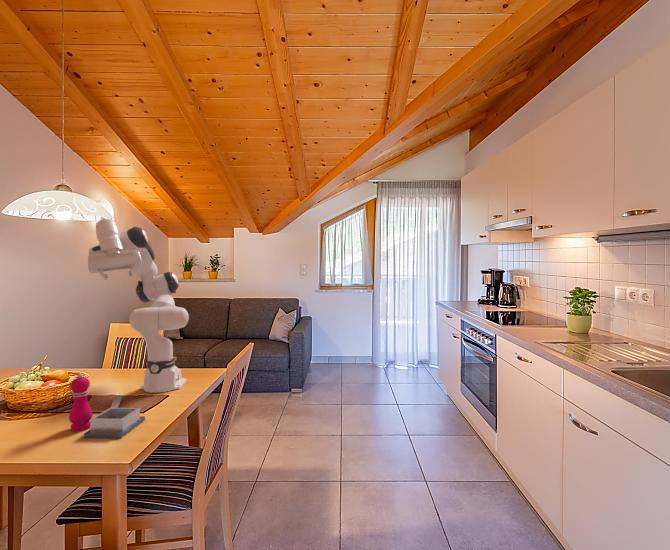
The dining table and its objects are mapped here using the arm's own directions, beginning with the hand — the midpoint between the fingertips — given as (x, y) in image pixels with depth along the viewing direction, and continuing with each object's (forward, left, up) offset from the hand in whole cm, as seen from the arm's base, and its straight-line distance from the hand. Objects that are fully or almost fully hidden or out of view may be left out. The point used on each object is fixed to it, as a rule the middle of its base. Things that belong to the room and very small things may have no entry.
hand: (118, 277), depth 169 cm
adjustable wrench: (+6, +1, -54) cm, 54 cm away
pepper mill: (+24, -1, -54) cm, 59 cm away
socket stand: (+24, +12, -54) cm, 60 cm away
